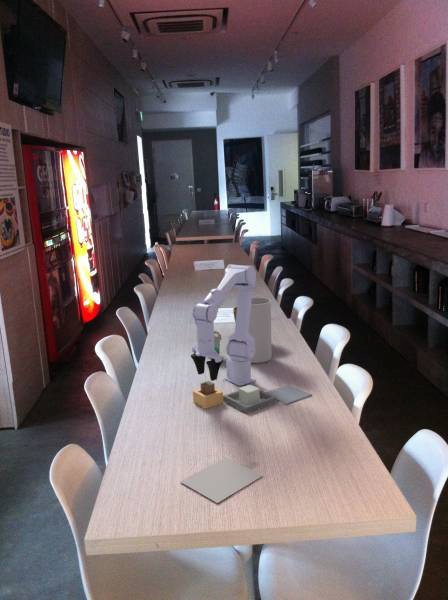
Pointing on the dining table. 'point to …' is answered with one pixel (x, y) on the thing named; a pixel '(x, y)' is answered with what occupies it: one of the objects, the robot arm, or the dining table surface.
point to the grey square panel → (221, 479)
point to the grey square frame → (268, 401)
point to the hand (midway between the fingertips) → (207, 376)
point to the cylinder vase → (261, 329)
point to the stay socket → (208, 398)
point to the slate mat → (288, 394)
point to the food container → (217, 341)
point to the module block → (249, 395)
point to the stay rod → (207, 388)
